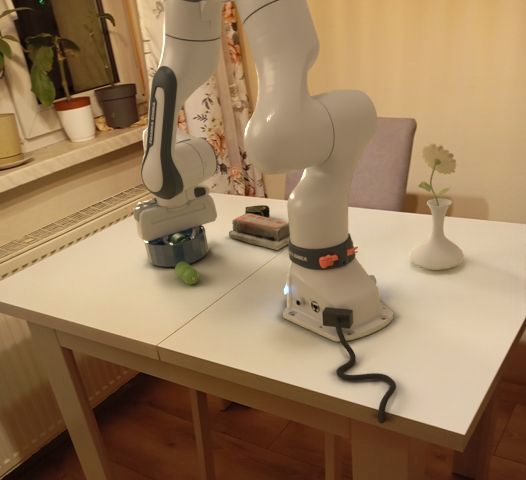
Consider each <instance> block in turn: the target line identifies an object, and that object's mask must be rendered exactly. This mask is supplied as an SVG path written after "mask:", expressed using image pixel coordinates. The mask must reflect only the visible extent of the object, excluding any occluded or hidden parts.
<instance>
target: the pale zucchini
mask: <svg viewBox="0 0 526 480" xmlns="http://www.w3.org/2000/svg"><path fill="white" fill-rule="evenodd" d="M174 273H175V275H176V276H177V277H178V278H179V279H181V280H182V281H183V282H184V283H185V284H186V285H195V284H197V283H198V281H199V280H200V273H199V271H198V270H197V269H196V268H194V266H192V264H188V263H186V262H179V263H178V264H177V265H176V267H174Z"/></svg>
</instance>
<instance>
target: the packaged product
mask: <svg viewBox="0 0 526 480" xmlns="http://www.w3.org/2000/svg"><path fill="white" fill-rule="evenodd" d="M231 222H232V230H230V231H229V232H228V237H229V238H231V239H235V240H236V239H237V240H239V241H241V242H245V243H248V244H250V245H255V246H261V247H264V248H268V249H272V250H275V251H278V250H280V249H282V248H284V247H286V246H288V245H289V244H288V240H289V238H290V231H289V222H288V221H282V220H278V219H274V218H270V217H269V218H267V217H263V216H259V215H255V214H245V213H244V214H242V215H240V216H238V217H236V218H233V220H232V221H231Z"/></svg>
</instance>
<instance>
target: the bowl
mask: <svg viewBox="0 0 526 480" xmlns="http://www.w3.org/2000/svg"><path fill="white" fill-rule="evenodd" d="M199 228H200V230H199V233H198V236H197V237H196V238H194V239H192V240H189V241H186V242H183V243H179V244H173V245H166V244H165V243H164V242H163V241H162V240H161V239H160V238H157V239H154V240H151V241H148V242H146V241H144V240H143V242H144V246H145V250H146V254H147V258H148V259H147V260H148V262H149V263H150V264H152V265H153V266H157V267H162V268H175V267H176V265H177V264H178V263H179V262H186V263H188V264H189V265H191V264H193V263H195V262H197V261H200V259H203V258H204V257H205V256H206V255H207V254H208V252H209V243H208V238H207V233H206V229H205V225H200V226H199ZM192 232H193V229H191V228H190V229H187V230H184V231H180V232H177V233H181V234H183V235H184V236H186V237H187V238H189V237H190V236H192ZM174 234H176V233H174ZM174 234H171V235H168V240H167V239H166V240H167V241H168V242H169V243H170V239H171V237H172V235H174Z"/></svg>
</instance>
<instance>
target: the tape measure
mask: <svg viewBox="0 0 526 480" xmlns="http://www.w3.org/2000/svg"><path fill="white" fill-rule="evenodd" d="M270 211H271V210H270V207H269V205H265V204H262V205H261V204H259V205H251V206H245V212H244V214H255V215H259V216H263V217H267V218H270V214H271V213H270Z"/></svg>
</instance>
